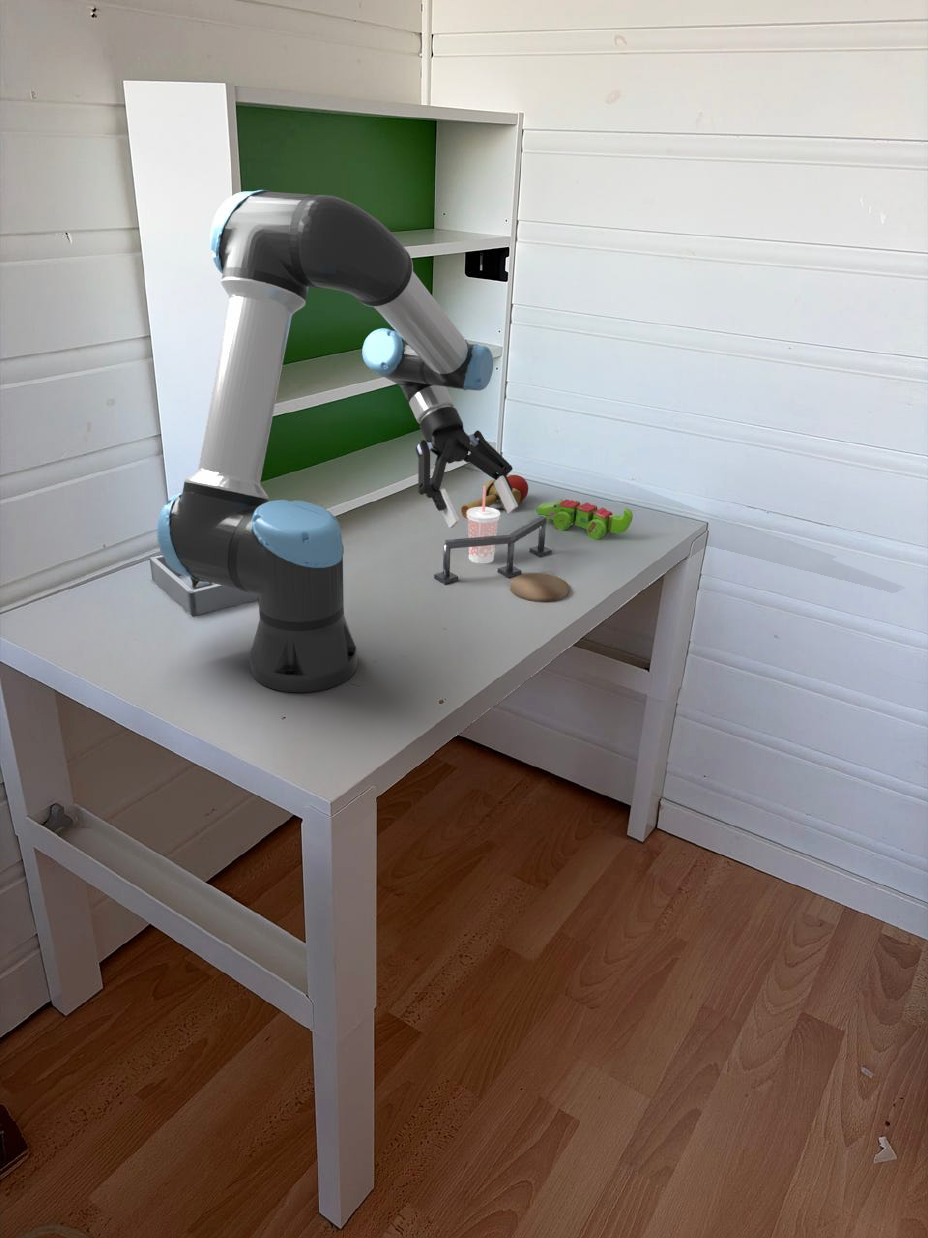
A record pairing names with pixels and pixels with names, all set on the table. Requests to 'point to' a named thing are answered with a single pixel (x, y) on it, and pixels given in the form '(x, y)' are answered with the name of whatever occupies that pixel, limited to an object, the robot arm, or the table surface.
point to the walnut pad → (539, 587)
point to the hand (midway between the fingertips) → (484, 517)
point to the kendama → (492, 495)
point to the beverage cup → (482, 530)
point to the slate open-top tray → (197, 598)
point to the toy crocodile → (585, 517)
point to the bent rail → (509, 539)
